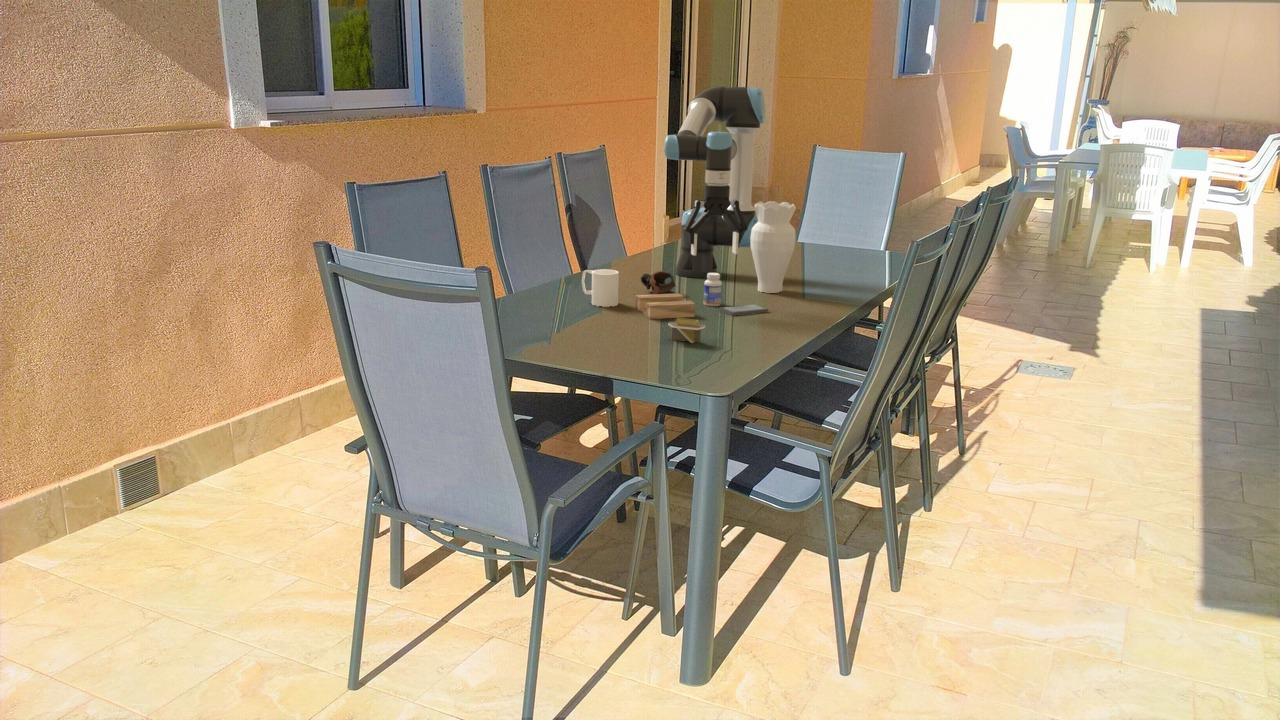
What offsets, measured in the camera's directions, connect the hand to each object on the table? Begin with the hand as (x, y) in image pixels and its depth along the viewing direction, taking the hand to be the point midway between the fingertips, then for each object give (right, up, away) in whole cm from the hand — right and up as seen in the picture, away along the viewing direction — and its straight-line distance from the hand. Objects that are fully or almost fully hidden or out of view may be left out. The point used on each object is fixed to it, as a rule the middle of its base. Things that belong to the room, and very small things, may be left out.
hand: (714, 254), depth 311 cm
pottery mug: (-17, -11, +19) cm, 28 cm away
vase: (+20, -10, +25) cm, 34 cm away
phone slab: (+9, -18, -4) cm, 20 cm away
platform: (-11, -28, -39) cm, 49 cm away
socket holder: (-15, -18, -7) cm, 25 cm away
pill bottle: (0, -15, +5) cm, 16 cm away
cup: (-36, -15, +3) cm, 39 cm away
